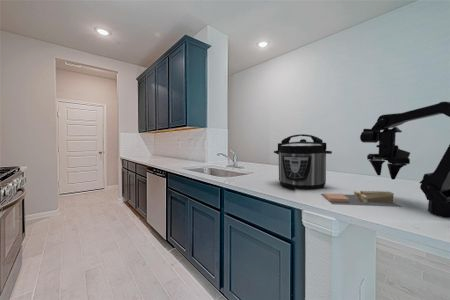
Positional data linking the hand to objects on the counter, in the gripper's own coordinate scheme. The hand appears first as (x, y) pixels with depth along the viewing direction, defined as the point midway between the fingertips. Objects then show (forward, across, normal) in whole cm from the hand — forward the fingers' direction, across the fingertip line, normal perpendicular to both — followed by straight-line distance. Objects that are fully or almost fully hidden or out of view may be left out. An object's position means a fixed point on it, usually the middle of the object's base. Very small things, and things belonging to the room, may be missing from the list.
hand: (385, 177), depth 89 cm
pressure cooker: (+12, +28, +30) cm, 43 cm away
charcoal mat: (+11, 0, +12) cm, 17 cm away
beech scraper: (+10, -2, +5) cm, 12 cm away
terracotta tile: (+10, -1, +18) cm, 20 cm away
